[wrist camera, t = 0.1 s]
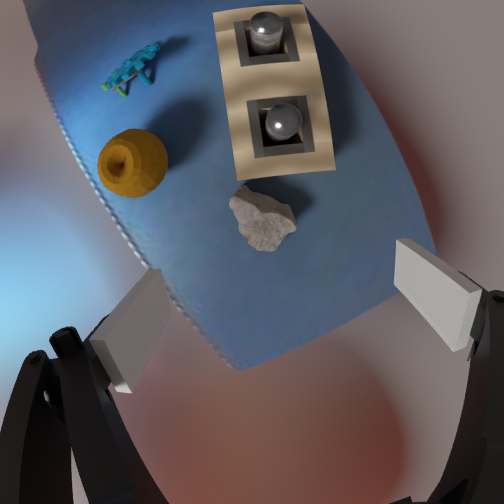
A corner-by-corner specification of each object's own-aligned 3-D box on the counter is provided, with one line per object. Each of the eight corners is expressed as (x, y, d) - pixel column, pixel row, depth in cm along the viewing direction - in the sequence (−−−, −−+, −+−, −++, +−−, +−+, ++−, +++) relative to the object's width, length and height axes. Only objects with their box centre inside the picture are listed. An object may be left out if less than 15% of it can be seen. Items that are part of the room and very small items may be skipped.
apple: (125, 195, 41) (86, 208, 30) (121, 137, 38) (80, 134, 26) (180, 189, 40) (152, 200, 29) (176, 127, 37) (146, 117, 26)
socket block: (220, 35, 32) (212, 12, 24) (296, 27, 31) (304, 3, 23) (241, 176, 40) (237, 180, 32) (321, 167, 39) (335, 169, 31)
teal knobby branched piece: (159, 33, 30) (150, 52, 26) (177, 57, 35) (173, 81, 31) (107, 69, 33) (90, 96, 29) (126, 90, 38) (114, 119, 34)
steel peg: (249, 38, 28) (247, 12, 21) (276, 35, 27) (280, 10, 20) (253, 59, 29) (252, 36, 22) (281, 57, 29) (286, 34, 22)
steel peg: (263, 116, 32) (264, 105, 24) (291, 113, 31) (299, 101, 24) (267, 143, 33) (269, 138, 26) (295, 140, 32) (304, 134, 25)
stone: (216, 217, 42) (210, 225, 36) (247, 174, 40) (246, 176, 34) (267, 253, 43) (269, 267, 38) (299, 213, 41) (305, 221, 36)
